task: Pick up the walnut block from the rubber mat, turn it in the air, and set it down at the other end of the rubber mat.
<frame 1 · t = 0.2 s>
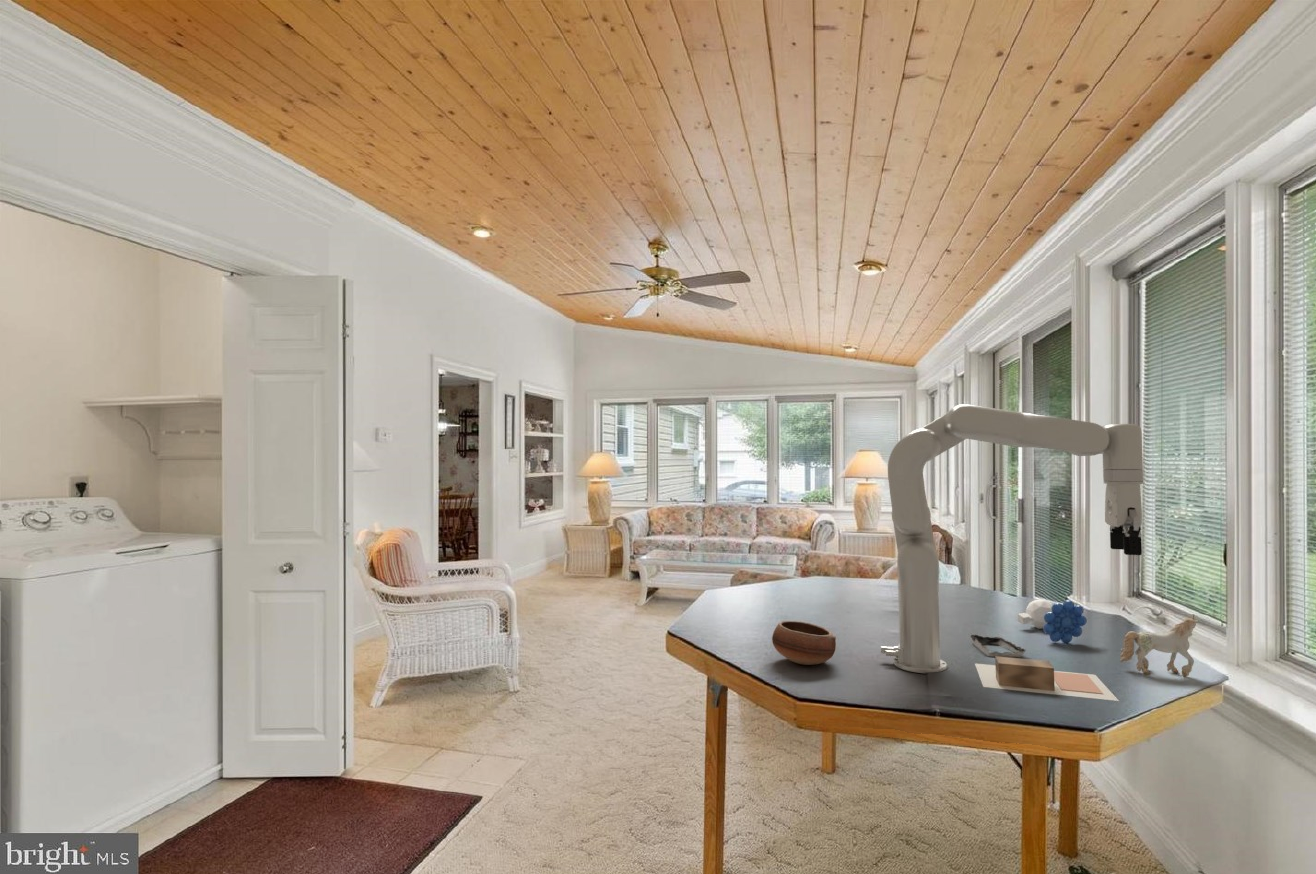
hand: (1125, 551, 149), 31 cm above the table, fingers open, 9 cm apart
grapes: (1063, 642, 185), on the table
walnut block: (1024, 684, 149), point 1 cm above the table, touching rubber mat
perfume bottle: (1037, 628, 200), on the table
rubber mat: (1040, 683, 151), on the table
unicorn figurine: (1161, 670, 160), on the table
bowl: (803, 664, 167), on the table
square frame: (996, 652, 177), on the table
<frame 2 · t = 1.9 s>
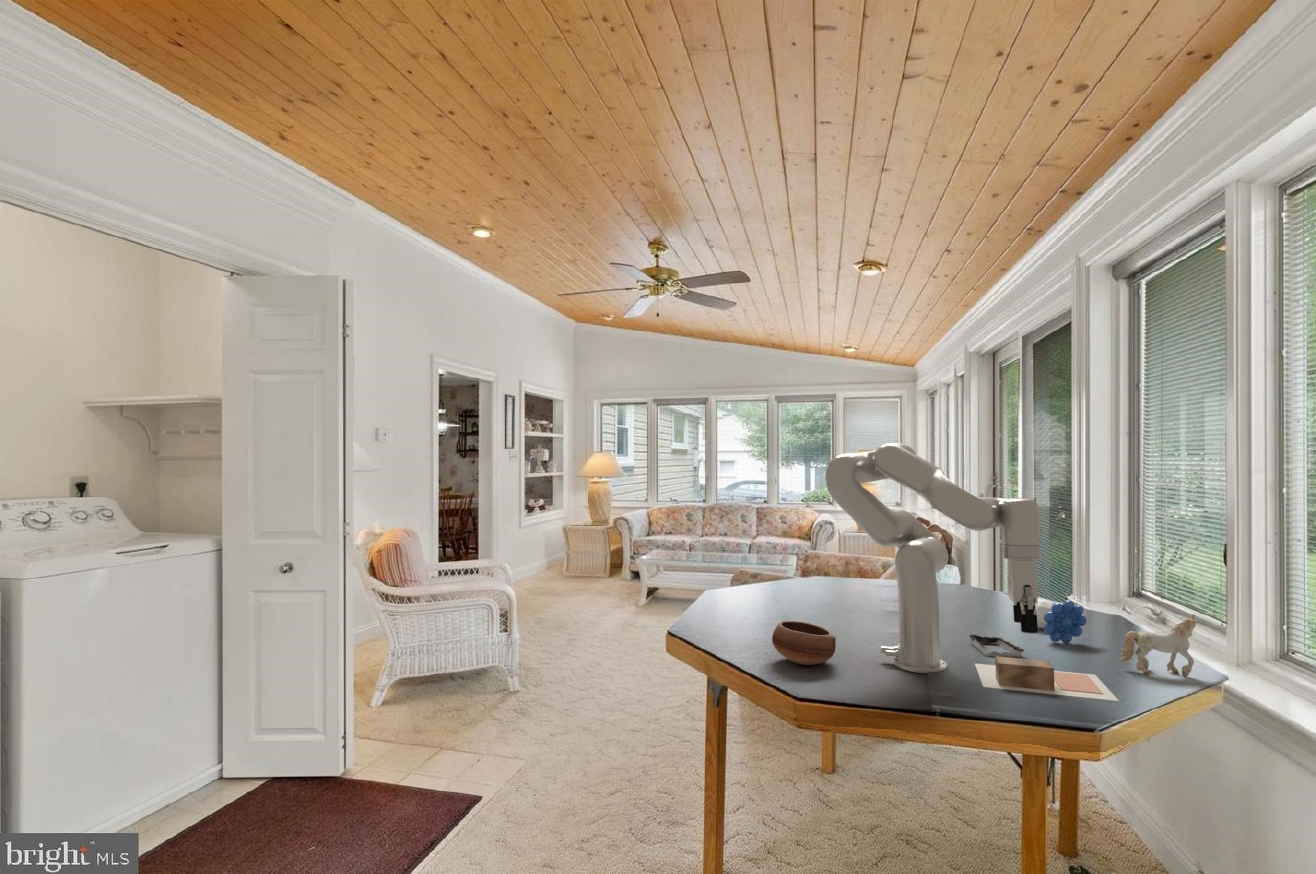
hand: (1025, 627, 149), 14 cm above the table, fingers open, 9 cm apart
nothing on the table moved.
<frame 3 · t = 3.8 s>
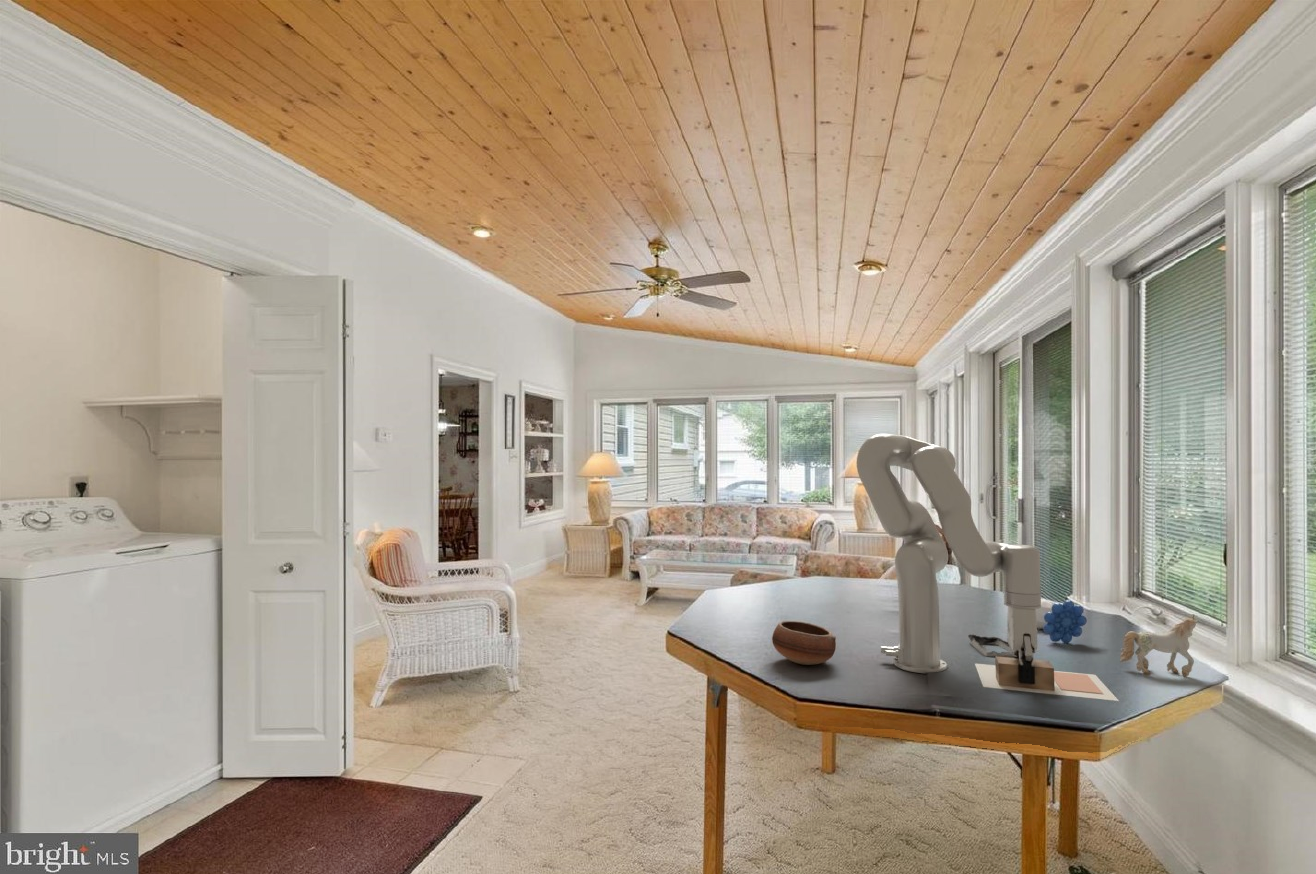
hand: (1024, 678, 149), 2 cm above the table, fingers closed on walnut block, 5 cm apart
walnut block: (1024, 684, 149), point 1 cm above the table, touching gripper, rubber mat
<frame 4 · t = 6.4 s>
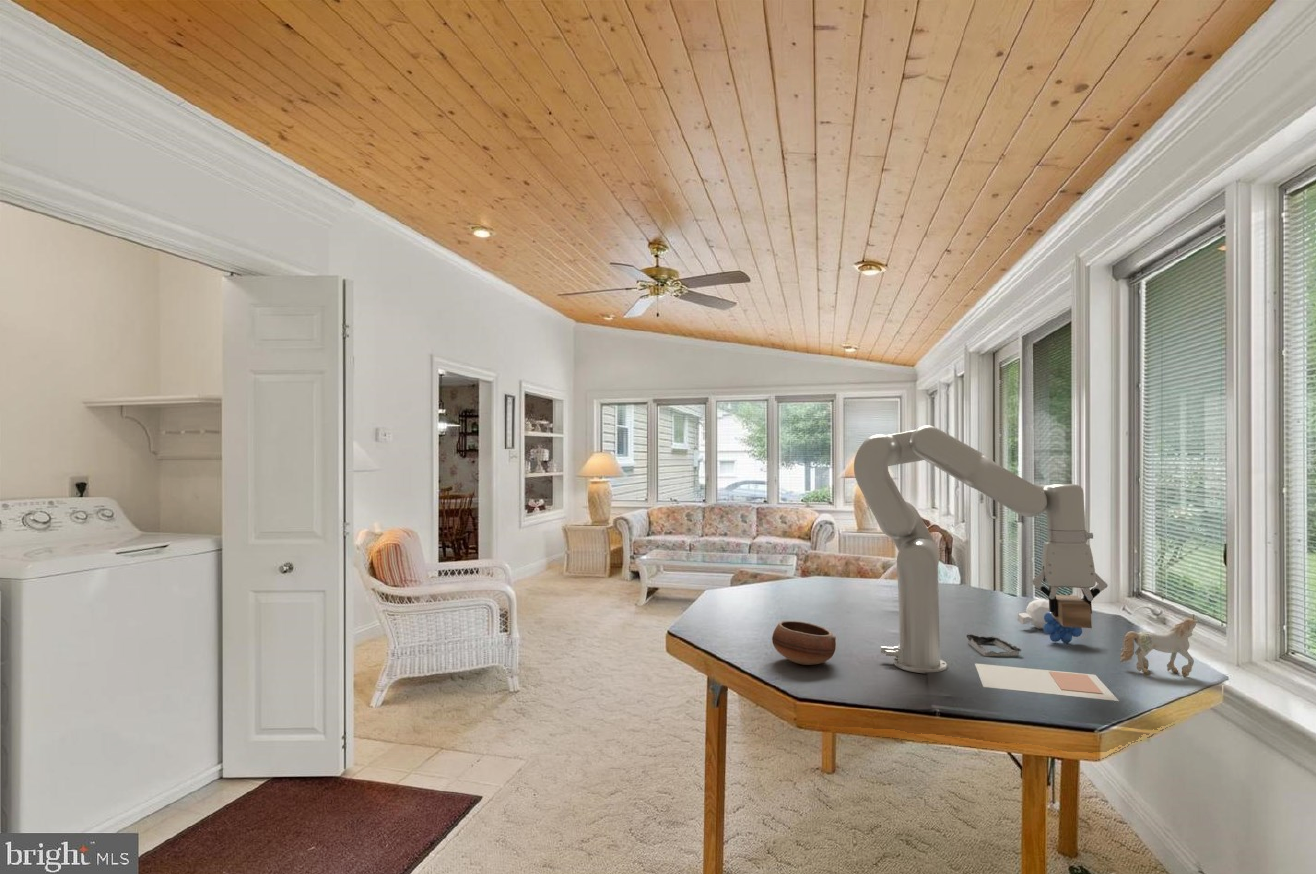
hand: (1070, 615, 150), 16 cm above the table, fingers closed on walnut block, 5 cm apart
walnut block: (1070, 621, 150), point 15 cm above the table, touching gripper
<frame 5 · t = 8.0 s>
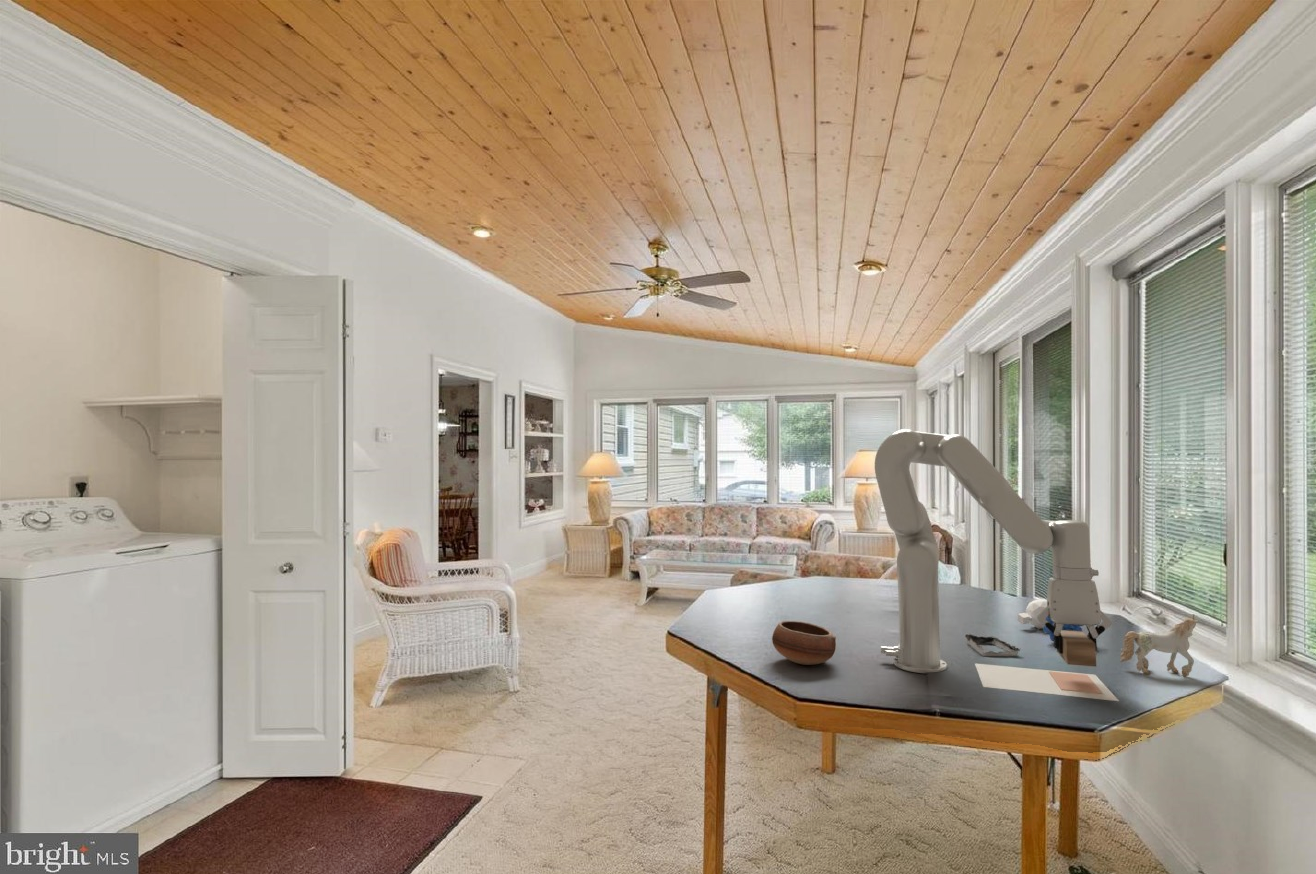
hand: (1075, 652, 150), 8 cm above the table, fingers closed on walnut block, 5 cm apart
walnut block: (1075, 658, 149), point 6 cm above the table, touching gripper
when the fingers open (4 cm above the table, at t = 9.2 s): walnut block drops 1 cm, resting on rubber mat.
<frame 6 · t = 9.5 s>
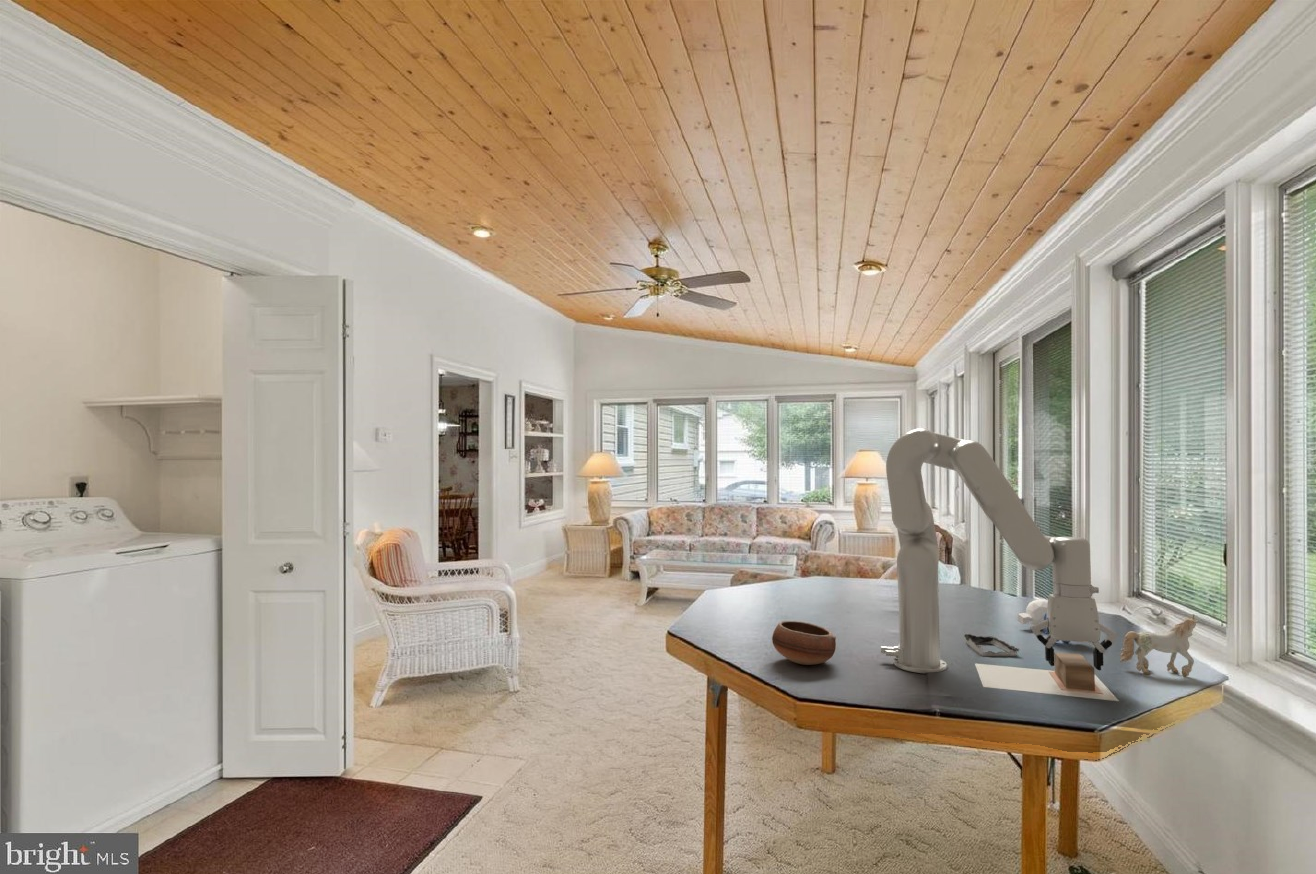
hand: (1074, 666, 150), 4 cm above the table, fingers open, 8 cm apart
walnut block: (1074, 681, 149), point 1 cm above the table, touching rubber mat
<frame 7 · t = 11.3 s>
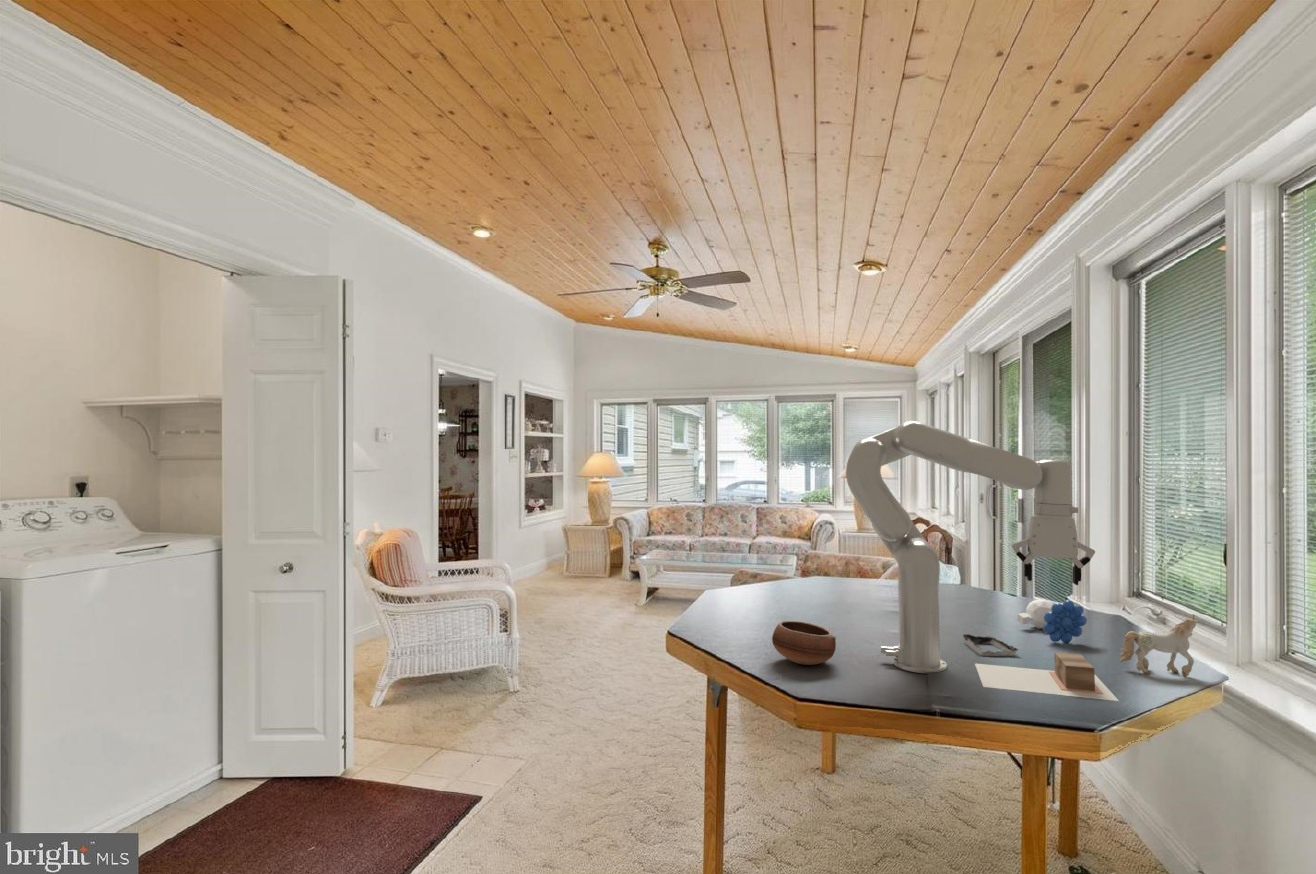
hand: (1052, 582, 157), 22 cm above the table, fingers open, 9 cm apart
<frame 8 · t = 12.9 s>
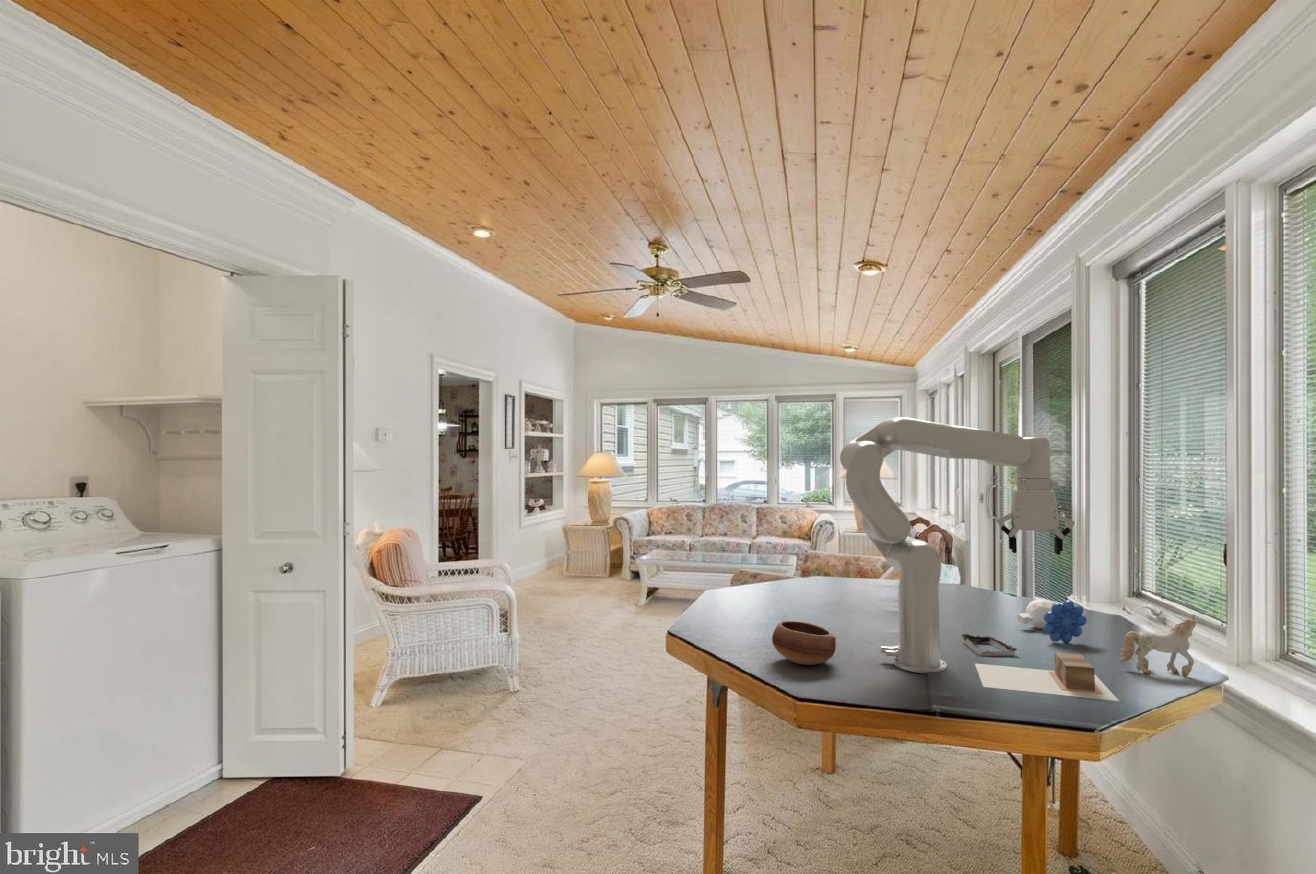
hand: (1035, 553, 164), 28 cm above the table, fingers open, 9 cm apart
at the end: walnut block 0.1 cm from the target spot, point 0.8 cm above the table; walnut block tilted 0°; the gripper is holding nothing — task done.
